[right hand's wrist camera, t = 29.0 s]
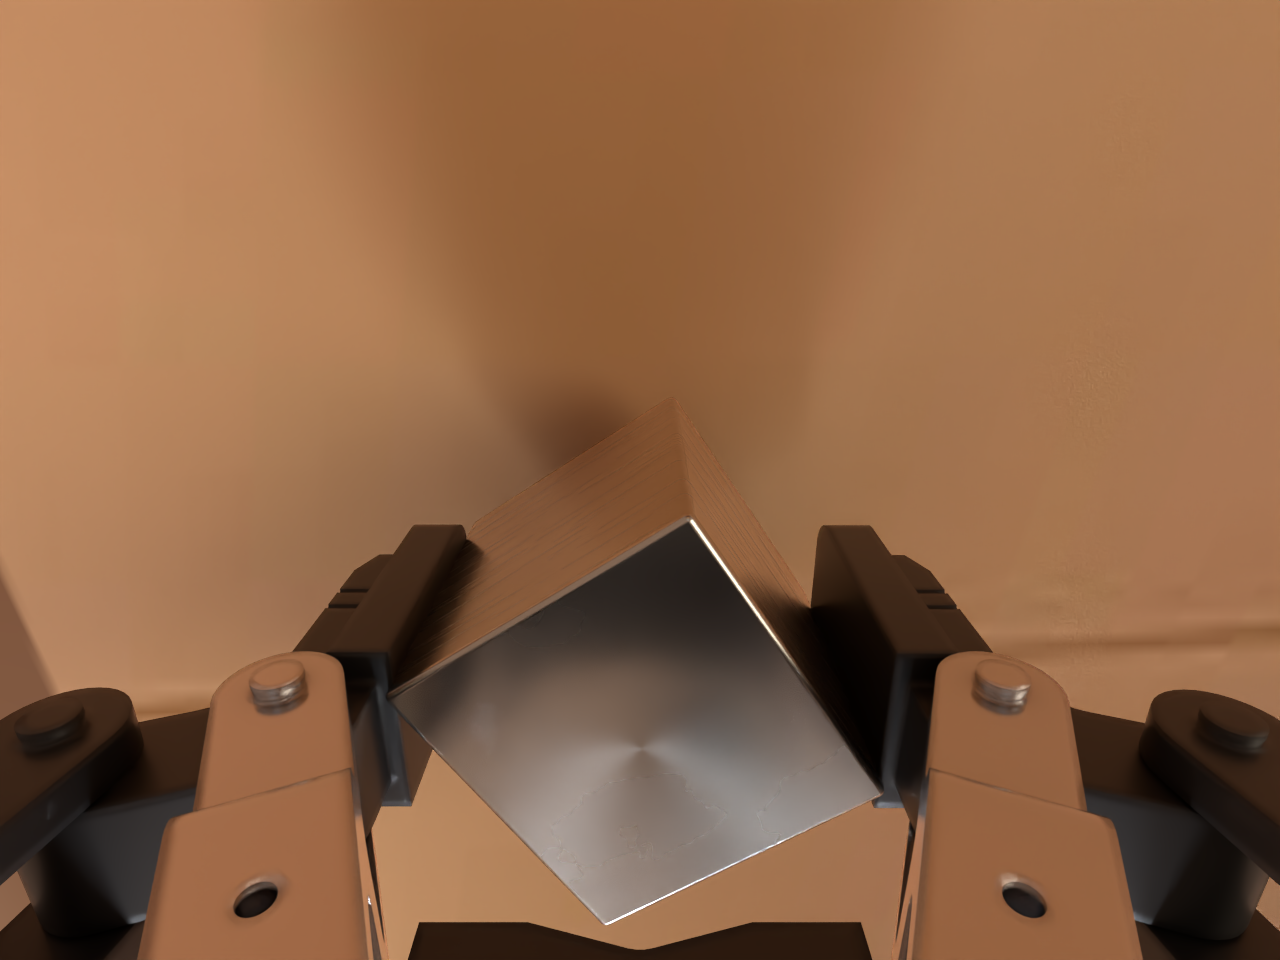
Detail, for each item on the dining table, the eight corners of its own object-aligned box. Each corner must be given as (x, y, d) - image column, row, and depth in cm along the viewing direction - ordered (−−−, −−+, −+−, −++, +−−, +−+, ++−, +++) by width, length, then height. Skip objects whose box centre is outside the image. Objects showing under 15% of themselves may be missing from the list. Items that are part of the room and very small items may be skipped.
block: (673, 393, 11) (691, 512, 7) (805, 592, 13) (889, 795, 8) (472, 522, 12) (380, 699, 8) (616, 696, 13) (603, 930, 9)
